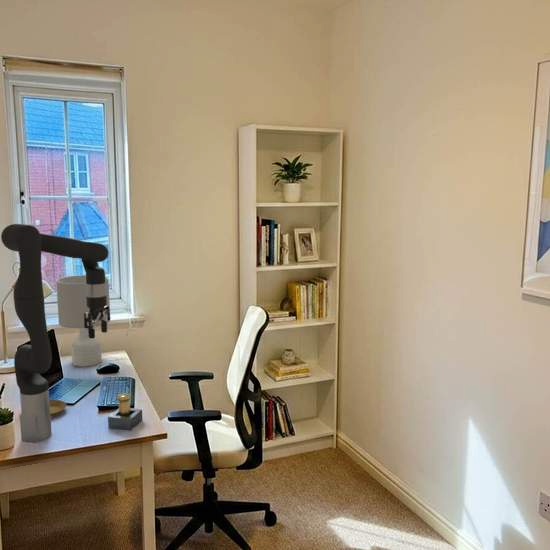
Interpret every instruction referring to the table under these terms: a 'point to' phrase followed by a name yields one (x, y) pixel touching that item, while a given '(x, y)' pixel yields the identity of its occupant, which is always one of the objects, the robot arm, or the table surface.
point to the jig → (125, 420)
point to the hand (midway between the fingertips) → (98, 335)
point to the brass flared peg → (124, 404)
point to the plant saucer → (56, 407)
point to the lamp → (78, 318)
